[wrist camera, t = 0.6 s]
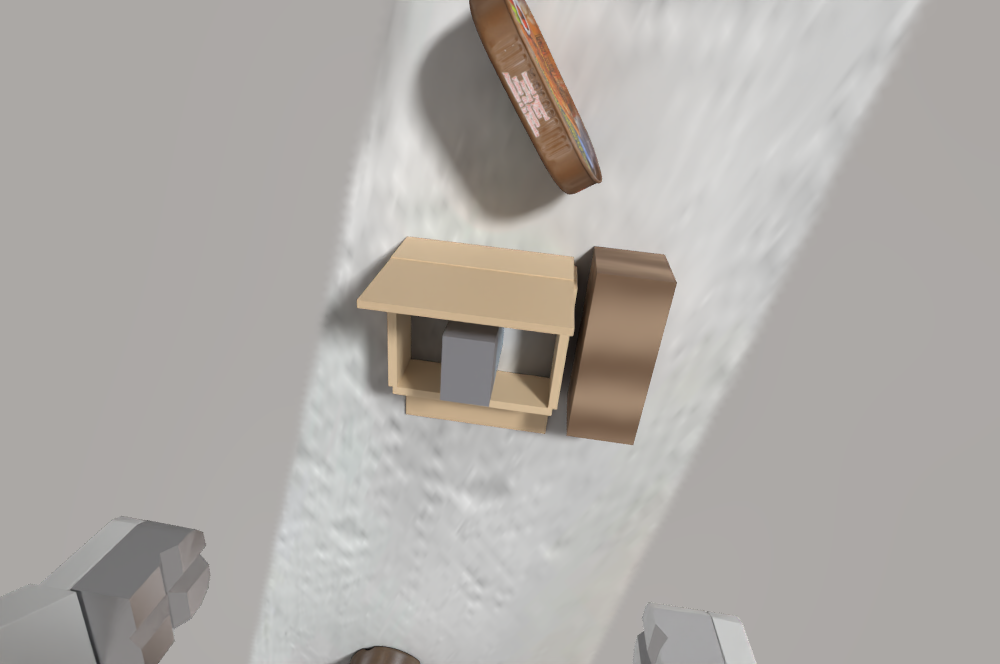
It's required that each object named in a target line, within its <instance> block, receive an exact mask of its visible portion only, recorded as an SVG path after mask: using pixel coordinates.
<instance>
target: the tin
mask: <svg viewBox="0 0 1000 664" xmlns="http://www.w3.org/2000/svg"><path fill="white" fill-rule="evenodd" d="M469 4H470V10H471V14H472V17H473V21H474V24H475V27H476V29H477V32H478V34H479V37H480V39H481V41H482V44H483V46H484V48H485V50H486V52H487V54H488V57H489V59H490V61H491V63H492V65H493V66H494V68H495V71H496V73H497V75H498V76H499V78H500V80H501V83H502V85H503V87H504V89H505V90H506V92H507V94H508V96H509V98H510V100H511V102H512V104H513V106H514V108H515V110H516V112H517V114H518V116H519V118H520V120H521V122H522V124H523V126H524V128H525V129H526V131H527V133H528V135H529V137H530V139H531V141H532V143H533V145H534V147H535V149H536V150H537V152H538V154H539V156H540V158H541V160H542V162H543V164H544V165H545V167H546V169H547V170H548V172H549V174H550V175H551V177H552V178H553V180H554V181H555V183H556V184H557V185H558V186H559V188H560V189H561V190H562V191H564V192H565V193H567V194H575V193H577V192H579V191H581V190H583V189H585V188H587V187H589V186H592V185H594V184H596V183H601V182H602V175H601V171H600V167H599V164H598V160H597V157H596V154H595V151H594V148H593V145H592V143H591V140H590V138H589V136H588V133H587V131H586V129H585V127H584V124H583V122H582V120H581V117H580V115H579V113H578V111H577V109H576V107H575V105H574V102H573V100H572V98H571V96H570V94H569V92H568V89H567V87H566V85H565V83H564V81H563V79H562V77H561V75H560V72H559V70H558V68H557V66H556V64H555V62H554V59H553V57H552V55H551V53H550V51H549V48H548V46H547V44H546V42H545V40H544V38H543V36H542V34H541V31H540V29H539V27H538V25H537V23H536V21H535V19H534V17H533V15H532V13H531V11H530V9H529V7H528V5H527V4H526V2H525V0H469Z"/></svg>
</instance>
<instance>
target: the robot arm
mask: <svg viewBox="0 0 1000 664" xmlns="http://www.w3.org/2000/svg"><path fill="white" fill-rule="evenodd" d="M205 546H206V543H205V539H204V534H203V532H201V531H199V530H195V529H190V528H185V527H179V526H174V525H169V524H164V523H158V522H153V521H148V520H147V521H146V520H140V519H135V518H129V517H124V516H121V517H118V518H116V519H113V520H111V521H110V522H109V523H108V524H106V525H105V526H104V527H103V528H102V529H101V530H100V531H99V532H97V533H96V534H95V535H94V536H93V537H92V538H91V539H90V540H89V541H87V542H86V543H85V544H84V545H83V546H82V547H81V548H79V549H78V550H77V551H76V552H75V553H74V554H73V555H72V556H71V557H70V558H68V559H67V560H66V561H65V562H64V563H63V564H62V565H60V566H59V567H58V568H57V569H56V570H55V571H54V572H52V573H51V574H50V575H49V576H48V577H47V578H46V579H45V580H44V581H42V582H41V583H40V584H39V585H35V584H28V585H26V586H24V587H22V588H19V589H17V590H15V591H12V592H10V593H8V594H6V595H3V596H1V597H0V664H158V663H159V662H160V660H161V659H162V658H163V656H164V655H165V653H166V652H167V651H168V649H169V648H170V647H171V646H172V644H173V643H174V641H175V639H174V636H175V635H174V634H175V633H174V632H175V631H174V630H175V628H176V627H178V626H180V625H182V624H183V623H185V622H187V621H188V620H190V619H191V618H192V617H193V616H194V614H195V613H196V611H197V610H198V608H199V607H200V606H201V604H202V602H203V600H204V597H205V595H206V592H207V590H208V588H209V580H210V569H209V564H208V563H207V562H206V561H205V559H204V558H203V557H202V556H201V555H200V553H201V551H202V550H203V549H204V548H205ZM642 618H643V626H644V632H642V633H641V634H639V635H638V636H637V639H636V643H635V648H634V656H633V664H757V663H756V660H755V658H754V655H753V652H752V649H751V646H750V644H749V641H748V638H747V635H746V632H745V629H744V627H743V624H742V621H741V620H740V619H739V618H738V617H737V616H734V615H728V614H722V613H715V612H709V611H707V612H705V611H704V610H697V609H691V608H684V607H677V606H670V605H664V604H657V603H650V602H649V603H648V604H647V605H646V607H645V610H644V613H643V617H642Z"/></svg>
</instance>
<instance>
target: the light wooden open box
mask: <svg viewBox="0 0 1000 664" xmlns="http://www.w3.org/2000/svg"><path fill="white" fill-rule="evenodd" d="M576 295H577V266H574V257H569V256H561V255H553V254H545V253H537V252H529V251H521V250H513V249H504V248H496V247H488V246H480V245H472V244H464V243H456V242H447V241H439V240H431V239H423V238H415V237H407V238H406V239H405V240H404V241H403V242H402V244H401V245H400V246H399V247H398V249H397V250H396V251H395V252H394V254H393V255H392V256H391V258H390V260H389V261H388V262H387V263H386V265H385V266H384V267H383V268H382V270H381V271H380V272H379V273H378V274H377V276H376V277H375V278H374V279H373V281H372V282H371V283H370V284H369V286H368V287H367V288H366V289H365V291H364V292H363V293H362V294H361V296H360V297H359V298H358V299H357V308H361V309H369V310H377V311H384V312H387V332H388V386H392V387H393V394H399V395H406V414H409V415H416V416H423V417H430V418H437V419H444V420H451V421H458V422H465V423H472V424H479V425H486V426H494V427H501V428H508V429H515V430H522V431H529V432H536V433H543V434H545V431H546V425H547V419H548V416H551V414H552V409H557V405H558V400H559V394H560V388H561V382H562V376H563V371H564V365H565V359H566V353H567V347H568V342H569V336H573V334H574V307H575V301H576ZM411 315H415V316H422V317H430V318H437V319H445V320H453V321H460V322H468V323H475V324H483V325H491V326H498V327H506V328H513V329H521V330H529V331H536V332H544V333H551V334H557V336H556V342H555V349H554V355H553V361H552V368H551V374H550V378H547V377H540V376H533V375H525V374H518V373H511V372H503V371H497V372H496V377H495V381H494V386H493V390H492V395H491V399H490V404H489V407H486V406H479V405H472V404H464V403H457V402H450V401H443V400H440V387H441V363H437V362H430V361H423V360H415V359H411Z"/></svg>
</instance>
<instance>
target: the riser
mask: <svg viewBox="0 0 1000 664" xmlns="http://www.w3.org/2000/svg"><path fill="white" fill-rule="evenodd" d="M676 284H677V282H676V280H675V277H674V275H673V273H672V270H671V268H670V266H669V263H668V261H667V259H666V256H665V255H662V254H654V253H646V252H638V251H630V250H621V249H613V248H605V247H597V246H594V251H593V257H592V262H591V268H590V273H589V279H588V284H587V290H586V295H585V301H584V307H583V312H582V318H581V323H580V329H579V334H578V340H577V345H576V351H575V356H574V362H573V367H572V373H571V378H570V384H569V389H568V395H567V436H573V437H580V438H587V439H594V440H601V441H608V442H615V443H622V444H629V445H633V444H634V440H635V436H636V433H637V429H638V425H639V421H640V418H641V414H642V410H643V407H644V403H645V399H646V395H647V392H648V388H649V384H650V381H651V377H652V373H653V369H654V366H655V362H656V358H657V355H658V351H659V347H660V344H661V340H662V336H663V332H664V329H665V325H666V321H667V318H668V314H669V310H670V306H671V303H672V299H673V295H674V292H675V288H676Z"/></svg>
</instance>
